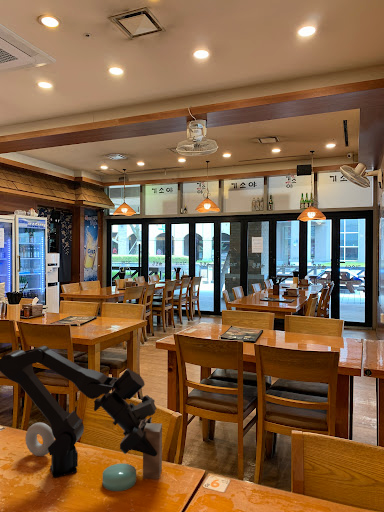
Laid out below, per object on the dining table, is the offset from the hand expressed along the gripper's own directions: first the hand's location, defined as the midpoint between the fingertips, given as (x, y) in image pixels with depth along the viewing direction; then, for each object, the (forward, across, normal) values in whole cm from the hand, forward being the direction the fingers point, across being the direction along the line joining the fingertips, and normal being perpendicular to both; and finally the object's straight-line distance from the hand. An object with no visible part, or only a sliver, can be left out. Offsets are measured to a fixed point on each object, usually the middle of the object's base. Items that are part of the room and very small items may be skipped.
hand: (157, 450), depth 110 cm
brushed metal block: (+4, 0, +6) cm, 7 cm away
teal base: (-2, -4, +12) cm, 13 cm away
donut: (-22, +8, +32) cm, 39 cm away
